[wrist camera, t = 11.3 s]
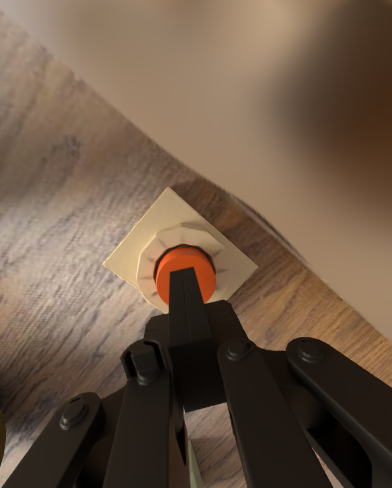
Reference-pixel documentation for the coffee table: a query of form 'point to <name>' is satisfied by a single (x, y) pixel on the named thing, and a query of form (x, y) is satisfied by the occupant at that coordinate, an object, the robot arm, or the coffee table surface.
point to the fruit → (2, 436)
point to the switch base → (171, 237)
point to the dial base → (194, 469)
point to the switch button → (182, 260)
